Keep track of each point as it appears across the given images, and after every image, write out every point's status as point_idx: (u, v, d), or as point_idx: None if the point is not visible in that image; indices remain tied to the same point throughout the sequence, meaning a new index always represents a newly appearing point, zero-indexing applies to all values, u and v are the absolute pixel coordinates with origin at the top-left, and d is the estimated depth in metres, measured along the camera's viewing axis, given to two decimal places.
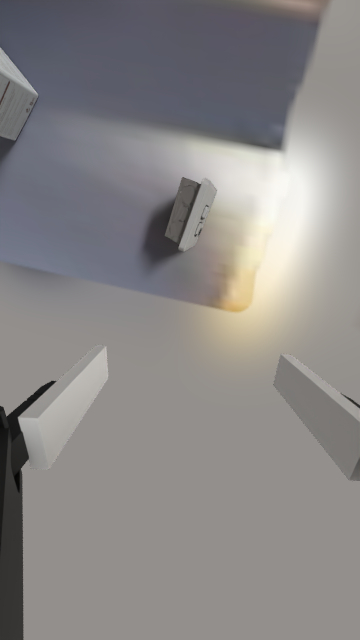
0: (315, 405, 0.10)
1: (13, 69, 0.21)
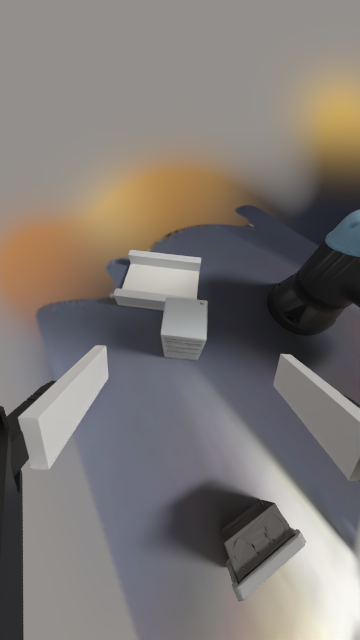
0: (315, 405, 0.10)
1: None
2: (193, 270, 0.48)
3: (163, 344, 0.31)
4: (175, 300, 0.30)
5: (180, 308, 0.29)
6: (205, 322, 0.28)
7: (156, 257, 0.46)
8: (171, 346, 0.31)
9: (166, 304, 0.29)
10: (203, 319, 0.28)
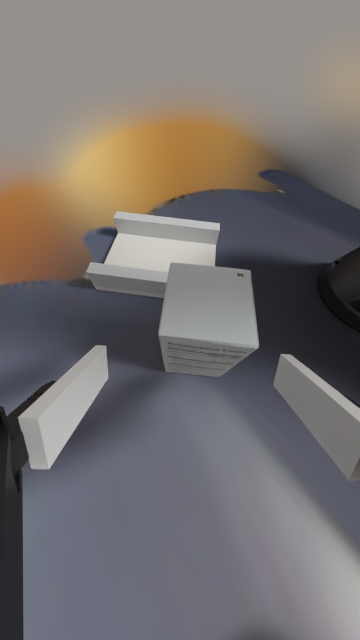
0: (315, 405, 0.10)
1: None
2: (207, 243, 0.34)
3: (164, 354, 0.16)
4: (188, 268, 0.15)
5: (199, 283, 0.14)
6: (252, 311, 0.14)
7: (154, 221, 0.32)
8: (178, 357, 0.17)
9: (171, 275, 0.15)
10: (248, 305, 0.14)
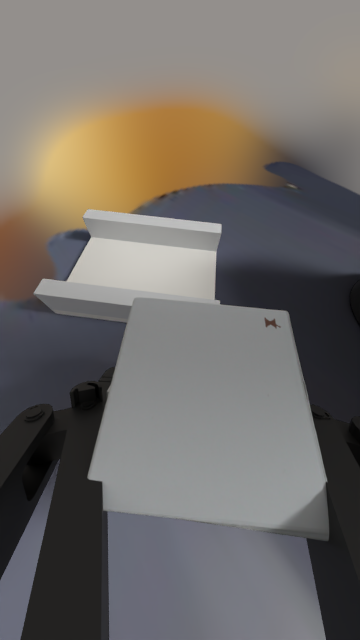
0: None
1: None
2: (205, 249, 0.26)
3: None
4: (168, 310, 0.08)
5: (188, 347, 0.07)
6: (305, 415, 0.06)
7: (136, 221, 0.24)
8: None
9: (131, 326, 0.07)
10: (295, 400, 0.06)
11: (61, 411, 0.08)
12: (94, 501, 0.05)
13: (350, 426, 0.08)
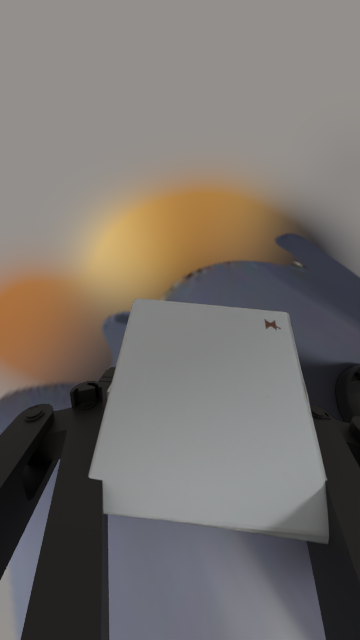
0: None
1: None
2: None
3: None
4: (168, 312, 0.08)
5: (188, 348, 0.07)
6: (306, 417, 0.06)
7: None
8: None
9: (131, 328, 0.07)
10: (295, 402, 0.06)
11: (61, 411, 0.08)
12: (94, 500, 0.05)
13: (350, 426, 0.08)
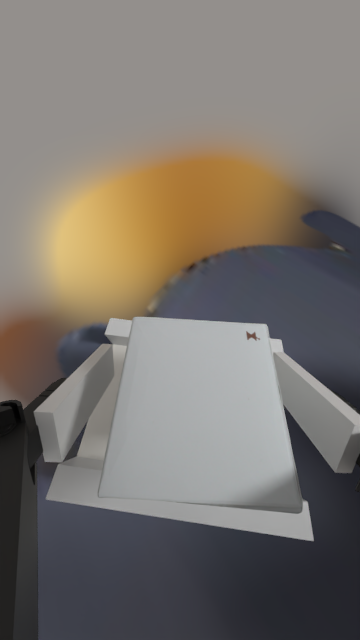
0: (305, 401, 0.10)
1: None
2: None
3: None
4: (163, 328, 0.09)
5: (181, 360, 0.08)
6: (279, 414, 0.07)
7: None
8: None
9: (132, 344, 0.09)
10: (271, 402, 0.07)
11: None
12: (7, 541, 0.04)
13: None
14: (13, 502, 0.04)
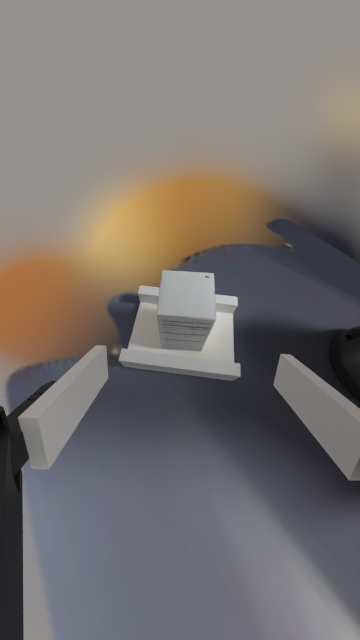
0: (315, 405, 0.10)
1: None
2: (225, 312, 0.36)
3: (160, 330, 0.25)
4: (174, 274, 0.24)
5: (180, 283, 0.23)
6: (213, 298, 0.22)
7: None
8: (170, 332, 0.25)
9: (162, 278, 0.23)
10: (210, 295, 0.22)
11: None
12: None
13: None
14: None
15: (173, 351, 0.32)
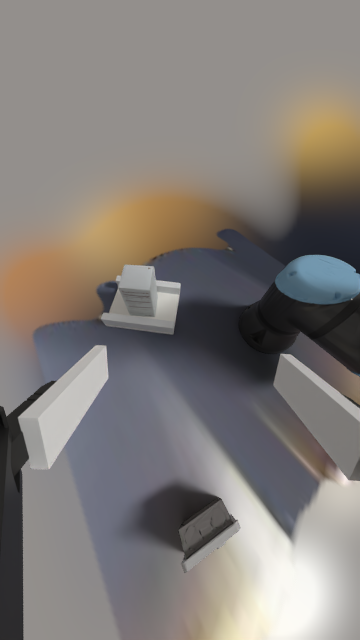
0: (315, 405, 0.10)
1: (155, 307, 0.49)
2: (174, 293, 0.54)
3: (123, 299, 0.43)
4: (130, 266, 0.42)
5: (133, 271, 0.41)
6: (150, 280, 0.41)
7: None
8: (129, 301, 0.44)
9: (124, 269, 0.42)
10: (149, 278, 0.41)
11: None
12: None
13: None
14: None
15: (137, 316, 0.50)
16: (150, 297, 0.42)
